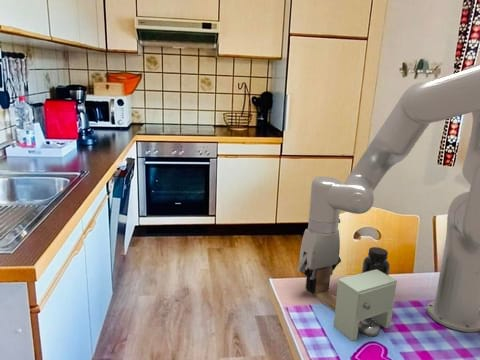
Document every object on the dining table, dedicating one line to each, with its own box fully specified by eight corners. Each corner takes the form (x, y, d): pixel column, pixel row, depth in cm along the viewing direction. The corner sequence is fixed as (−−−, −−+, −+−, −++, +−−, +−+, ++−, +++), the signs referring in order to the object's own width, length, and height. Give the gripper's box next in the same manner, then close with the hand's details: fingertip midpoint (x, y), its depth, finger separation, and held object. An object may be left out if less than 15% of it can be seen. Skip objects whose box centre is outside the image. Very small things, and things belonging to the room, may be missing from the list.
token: (368, 324, 92) (369, 316, 92) (382, 334, 89) (383, 327, 88) (354, 329, 90) (355, 321, 90) (368, 340, 87) (369, 332, 86)
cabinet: (370, 313, 97) (376, 269, 94) (394, 329, 90) (401, 282, 88) (333, 326, 91) (338, 279, 88) (355, 344, 85) (361, 294, 82)
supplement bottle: (364, 297, 104) (369, 255, 101) (356, 284, 111) (361, 245, 108) (390, 297, 104) (395, 256, 102) (380, 284, 111) (385, 245, 108)
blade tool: (318, 287, 108) (320, 261, 106) (355, 315, 96) (359, 285, 94) (306, 291, 106) (308, 264, 104) (343, 319, 94) (346, 289, 92)
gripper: (338, 216, 108) (332, 276, 112) (288, 224, 100) (283, 289, 104) (357, 225, 101) (350, 289, 106) (305, 234, 94) (300, 303, 98)
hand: (317, 288), depth 105 cm, fingers closed on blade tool, 4 cm apart
